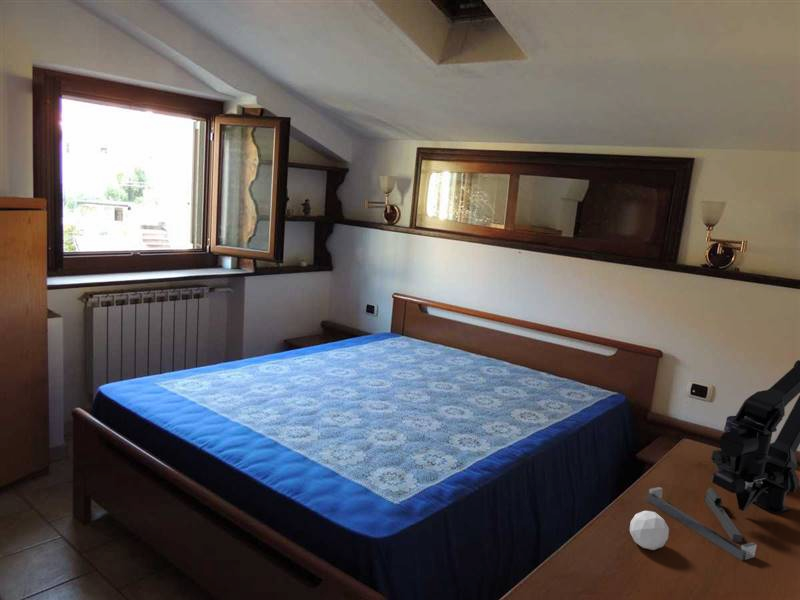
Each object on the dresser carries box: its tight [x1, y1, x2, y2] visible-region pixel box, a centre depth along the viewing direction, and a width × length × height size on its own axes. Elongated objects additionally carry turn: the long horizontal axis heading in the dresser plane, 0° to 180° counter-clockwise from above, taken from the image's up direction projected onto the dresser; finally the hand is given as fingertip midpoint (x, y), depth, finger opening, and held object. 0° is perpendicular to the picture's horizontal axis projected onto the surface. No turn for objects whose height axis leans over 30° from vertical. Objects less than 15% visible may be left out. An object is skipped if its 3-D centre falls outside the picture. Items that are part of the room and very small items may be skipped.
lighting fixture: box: [703, 486, 743, 544], centre depth 149 cm, size 19×3×4 cm, turn 172°
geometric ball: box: [629, 510, 670, 551], centre depth 135 cm, size 8×8×8 cm
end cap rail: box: [645, 486, 757, 561], centre depth 145 cm, size 4×26×3 cm, turn 26°
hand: (741, 509), depth 152 cm, fingers closed
